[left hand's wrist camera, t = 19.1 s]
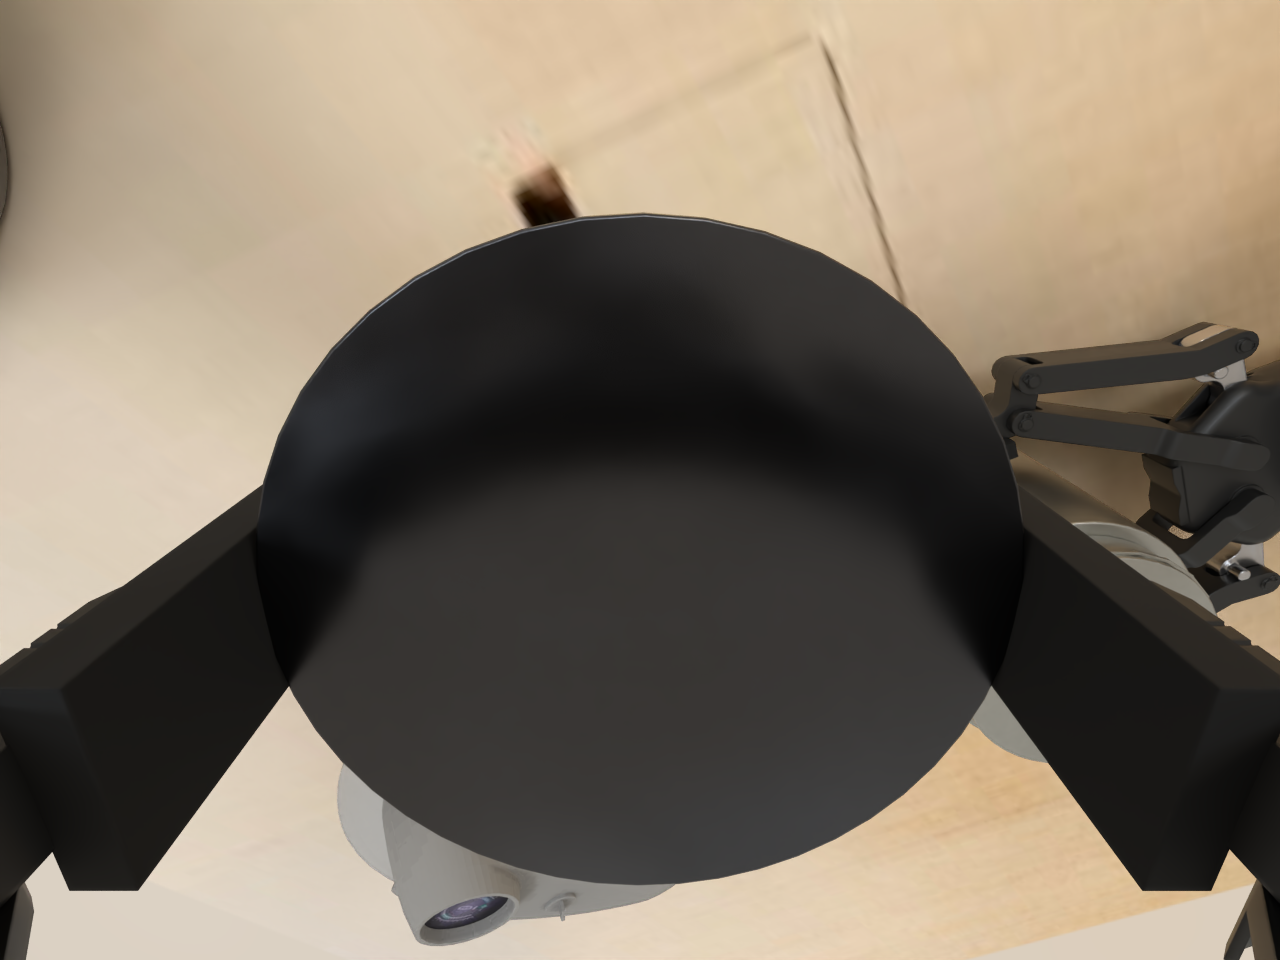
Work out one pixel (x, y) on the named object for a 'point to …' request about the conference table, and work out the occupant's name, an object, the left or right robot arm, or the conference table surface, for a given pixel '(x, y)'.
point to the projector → (460, 875)
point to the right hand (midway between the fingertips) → (895, 584)
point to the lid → (640, 549)
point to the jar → (1111, 534)
